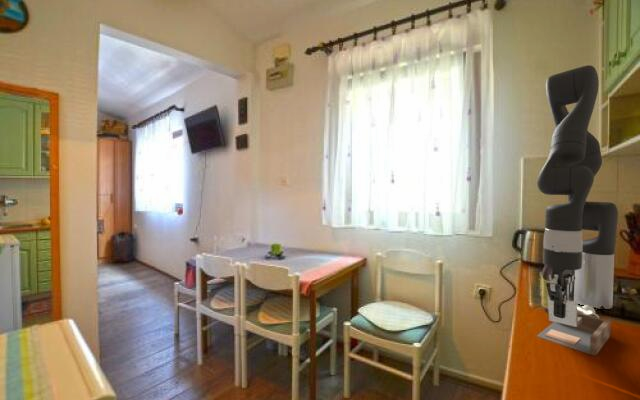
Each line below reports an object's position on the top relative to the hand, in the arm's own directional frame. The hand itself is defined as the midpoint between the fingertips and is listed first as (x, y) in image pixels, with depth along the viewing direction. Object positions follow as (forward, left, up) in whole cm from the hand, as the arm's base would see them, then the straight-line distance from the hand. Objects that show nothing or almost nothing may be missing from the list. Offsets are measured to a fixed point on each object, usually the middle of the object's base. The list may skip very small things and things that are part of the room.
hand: (560, 316), depth 76 cm
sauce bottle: (-19, -7, -7) cm, 21 cm away
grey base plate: (-5, +2, -6) cm, 8 cm away
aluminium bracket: (-2, +1, -2) cm, 2 cm away
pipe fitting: (-21, +1, -7) cm, 22 cm away
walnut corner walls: (-5, +2, -6) cm, 8 cm away
